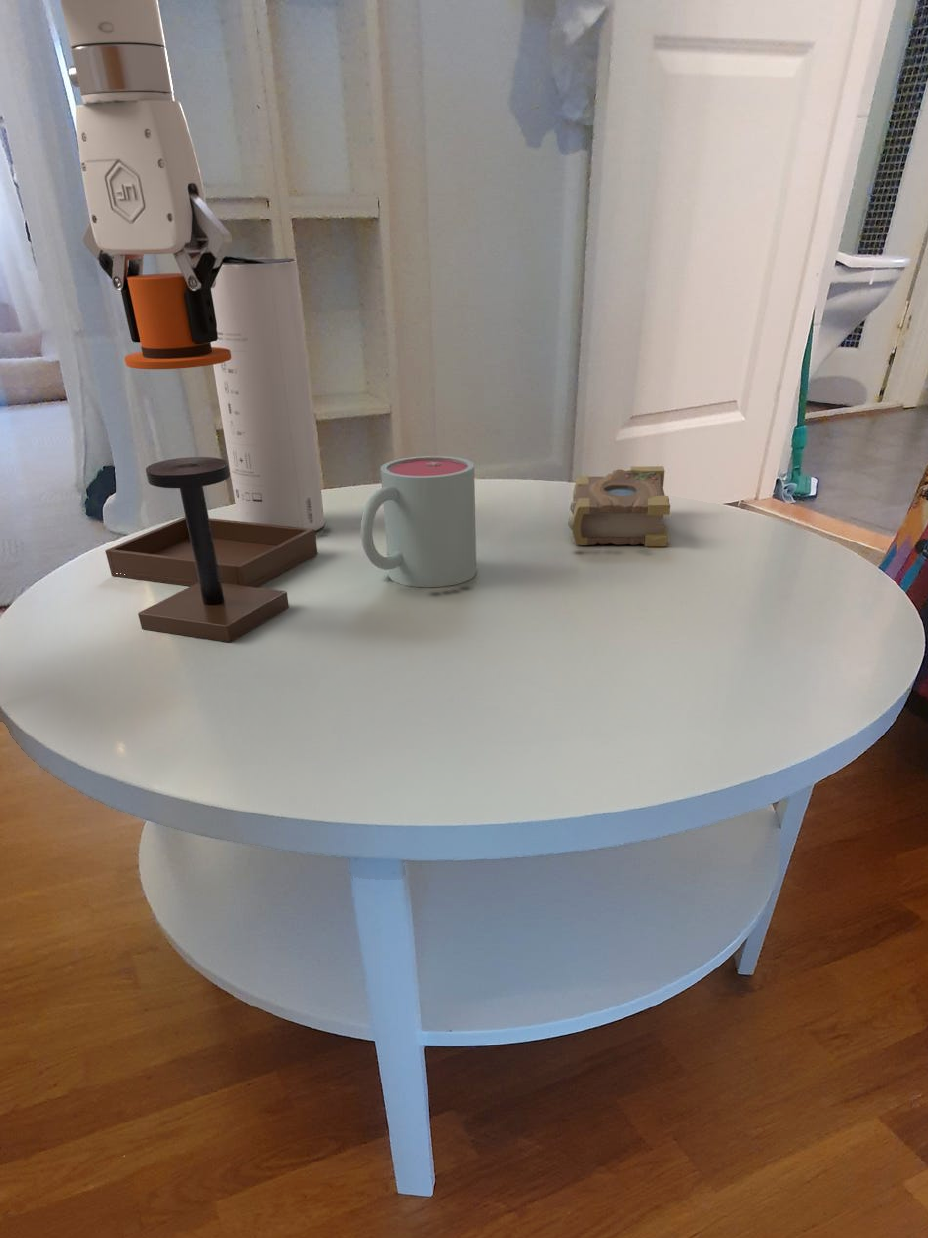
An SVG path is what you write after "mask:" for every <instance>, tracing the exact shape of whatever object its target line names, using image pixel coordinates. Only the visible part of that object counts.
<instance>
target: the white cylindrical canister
mask: <svg viewBox="0 0 928 1238" xmlns="http://www.w3.org/2000/svg"><path fill="white" fill-rule="evenodd" d="M298 274H299V273H298V267H297V259H295V258H291V257H290V258H289V257H288V258H283V257H282V258H279V257H249V258H248V257H247V258H246V257H240V256H234V255H227V254H226V255H225V257H224V258H223V264H222V267H221V269H220V271H219V273H218V275H217V277H216V285H215V287H214V288H211V292H212V298H213V304H214V310H215V316H216V322H217V334H218V339H217V341H213V342H210V343H211V347H219V348H225V349H229V350H230V351H231V359H230V360H229V361H226V362H223V363H219V364H214V365H212V366H213V373H214V381H215V385H216V391H217V398H218V404H219V411H220V417H221V422H222V429H223V435H224V441H225V447H226V453H227V460H228V467H229V472H230V478H231V483H232V490H233V497H234V503H235V509H236V515H237V521H241V522H251V523H261V524H271V525H280V526H290V527H300V528H309V529H314V530H315V532H318V531H320V530H321V529H322V528H323V527H324V525H325V513H324V505H323V504H324V503H323V496H322V494H323V493H322V485H321V477H320V467H319V458H318V449H317V438H316V429H315V421H314V420H315V419H314V411H313V403H312V392H311V384H310V375H309V365H308V357H307V356H308V355H307V348H306V347H307V346H306V338H305V337H306V336H305V329H304V320H303V318H304V317H303V310H302V301H301V300H302V299H301V294H300V293H301V291H300V284H299V275H298Z"/></svg>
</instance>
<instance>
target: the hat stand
mask: <svg viewBox="0 0 928 1238" xmlns="http://www.w3.org/2000/svg"><path fill="white" fill-rule="evenodd" d="M145 473H146V477H147V481H148V484H149V485H151V486H153V487H157V488H161V489H162V488H163V489H179V492H180V493H179V494H180V498H181V502H182V507H183V512H184V517H186V522H187V527H188V532H189V537H190V541H191V546H192V551H193V556H194V561H195V566H196V571H197V576H198V580H199V582H198V583H196V584H195V585H193V586H188V587H187V588H185V589H182V590H181V591H179V592H176V593H175V594H173V595H171V596H168V597H167V598H165V599H162V600H161V601H159V602H157V603H155V604H153V605H151V606H149V607H147V608H146V609H143V610H141V611H138V613H137V615H138V619H139V622H140V626H141V629H142V630H146V631H154V632H160V633H166V634H173V635H179V636H186V637H193V638H198V639H199V638H200V639H204V640H212V641H217V642H226V643H232V642H233V641H235V640H236V639H238V638H240V637H241V636H243V635H245V634H246V633H248V632H250V631H251V630H253V629H254V628H256V627H258V626H260V625H261V624H264V623H265V622H266V621H268V620H269V619H271V618H273V617H274V616H277V615H278V614H279V613H281V612H283V611H285V610H286V609H288V608H289V607H290V604H289V598H288V592H287V591H286V590H279V589H271V588H263V587H248V586H241V585H233V584H225V583H221V580H220V574H219V569H218V564H217V559H216V553H215V548H214V543H213V538H212V532H211V527H210V522H209V518H210V517H209V512H208V505H207V502H206V495H205V491H204V487H206V486H211V485H215V484H218V483H219V484H220V483H222V482H224V481H226V480H228V479H229V478H230V477H231V472H230V466H229V462H228V461H227V460H225V459H222V458H218V457H211V456H190V457H178V458H172V459H171V458H170V459H165V460H162V461H161V460H160V461H157V462H154V463H152V464H150V465H148V466H147V467H146V468H145Z"/></svg>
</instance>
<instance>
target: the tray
mask: <svg viewBox="0 0 928 1238" xmlns="http://www.w3.org/2000/svg"><path fill="white" fill-rule="evenodd" d="M209 522H210V527H211V532H212V538H213V543H214V548H215V553H216V559H217V564H218V569H219V574H220V580H221V583H225V584H233V585H241V586H248V587H256V588H259V587H260V586H262V585H264V584H265V583H267V582H269V581H271V580H273V579H274V578H276V577H278V576H280V575H282V574H285V572H287V571H289V570H291V569H293V568H294V567H296V566H299V565H300V564H302V563H303V562H305V561H307V560H309V559H311V558H313V557H314V556H316V555H318V554H319V553H318V545H317V538H316V531H315V530H314V529H309V528H300V527H290V526H280V525H271V524H261V523H251V522H241V521H238V520H230V519H222V518H220V519H219V518H211V517H209ZM105 555H106V560H107V563H108V566H109V570H110V574H111V576H112V577H118V578H126V579H127V578H128V579H134V580H139V581H140V580H141V581H147V582H148V581H149V582H156V583H163V584H171V585H178V586H185V587H191V586H193V585H195V584H196V583H198V582H199V580H198V576H197V571H196V566H195V561H194V556H193V551H192V546H191V541H190V537H189V532H188V527H187V522H186V517H185V516H183V517H181V518H179V519H177V520H174V521H172V522H169V523H167V524H164V525H162V526H160V527H157V528H155V529H153V530H150V531H148V532H146V533H143V534H141V535H138V536H135V537H133V538H131V539H129V540H126V541H124V542H121V543H119V544H116V545H114V546H112V547H110V548H107V549H105ZM116 573H118V574H116ZM120 573H121V574H120ZM124 574H125V575H124Z"/></svg>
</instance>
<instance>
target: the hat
mask: <svg viewBox="0 0 928 1238" xmlns="http://www.w3.org/2000/svg"><path fill="white" fill-rule="evenodd" d="M127 280H128V285H129V289H130V294H131V299H132V304H133V308H134V313H135V318H136V322H137V327H138V332H139V336H140V341H141V342H140V347H141V351H138V352H132V353H130V354H127V355H125V356H124V362H125V366H126V367H128V368H132V369H139V370H175V369H190V368H199V367H200V368H201V367H207V366H213V365H214V364H219V363H223V362H226V361H229V360H230V359H231V351H230V350H229V349H225V348H219V347H211V343H210V342H209V343H204V344H195V343H194V342H193V340H192V336H191V331H190V325H189V320H188V314H187V309H186V303H185V298H184V294H185V293H184V291H190V290H189V287H188V285H187V283H186V280H185V278H184V276H183V274H182V272H167V273H165V272H164V273H151V274H150V273H149V274H142V275H138V276H131V277H128V278H127Z"/></svg>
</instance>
